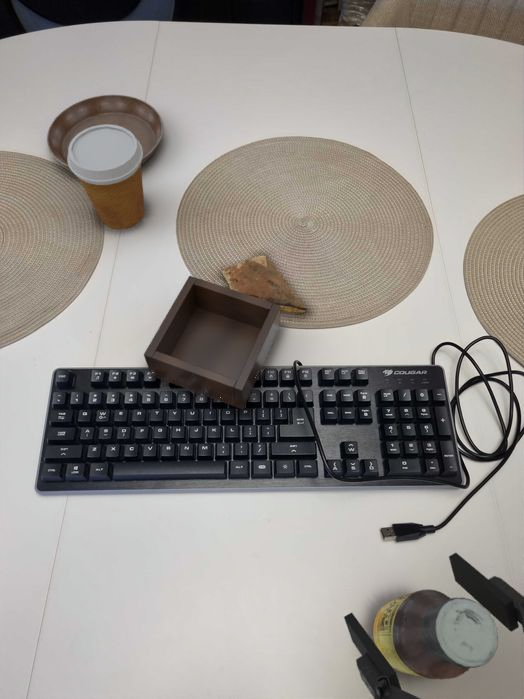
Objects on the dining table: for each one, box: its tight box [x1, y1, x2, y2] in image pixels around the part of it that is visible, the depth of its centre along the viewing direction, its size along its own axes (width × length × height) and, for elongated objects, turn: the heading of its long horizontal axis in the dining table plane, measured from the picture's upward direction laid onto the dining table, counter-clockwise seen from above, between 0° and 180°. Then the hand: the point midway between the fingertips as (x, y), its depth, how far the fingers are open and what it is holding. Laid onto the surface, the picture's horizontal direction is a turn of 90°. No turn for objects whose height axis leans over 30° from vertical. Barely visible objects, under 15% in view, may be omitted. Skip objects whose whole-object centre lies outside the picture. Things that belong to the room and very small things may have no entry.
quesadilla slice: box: [221, 255, 308, 314], centre depth 71 cm, size 11×8×2 cm
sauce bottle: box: [372, 588, 499, 680], centre depth 43 cm, size 6×6×20 cm
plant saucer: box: [46, 94, 164, 169], centre depth 84 cm, size 18×18×3 cm
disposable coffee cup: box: [67, 125, 145, 230], centre depth 73 cm, size 10×10×12 cm
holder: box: [143, 275, 282, 411], centre depth 65 cm, size 12×12×6 cm
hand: (405, 596), depth 46 cm, fingers open, 10 cm apart
